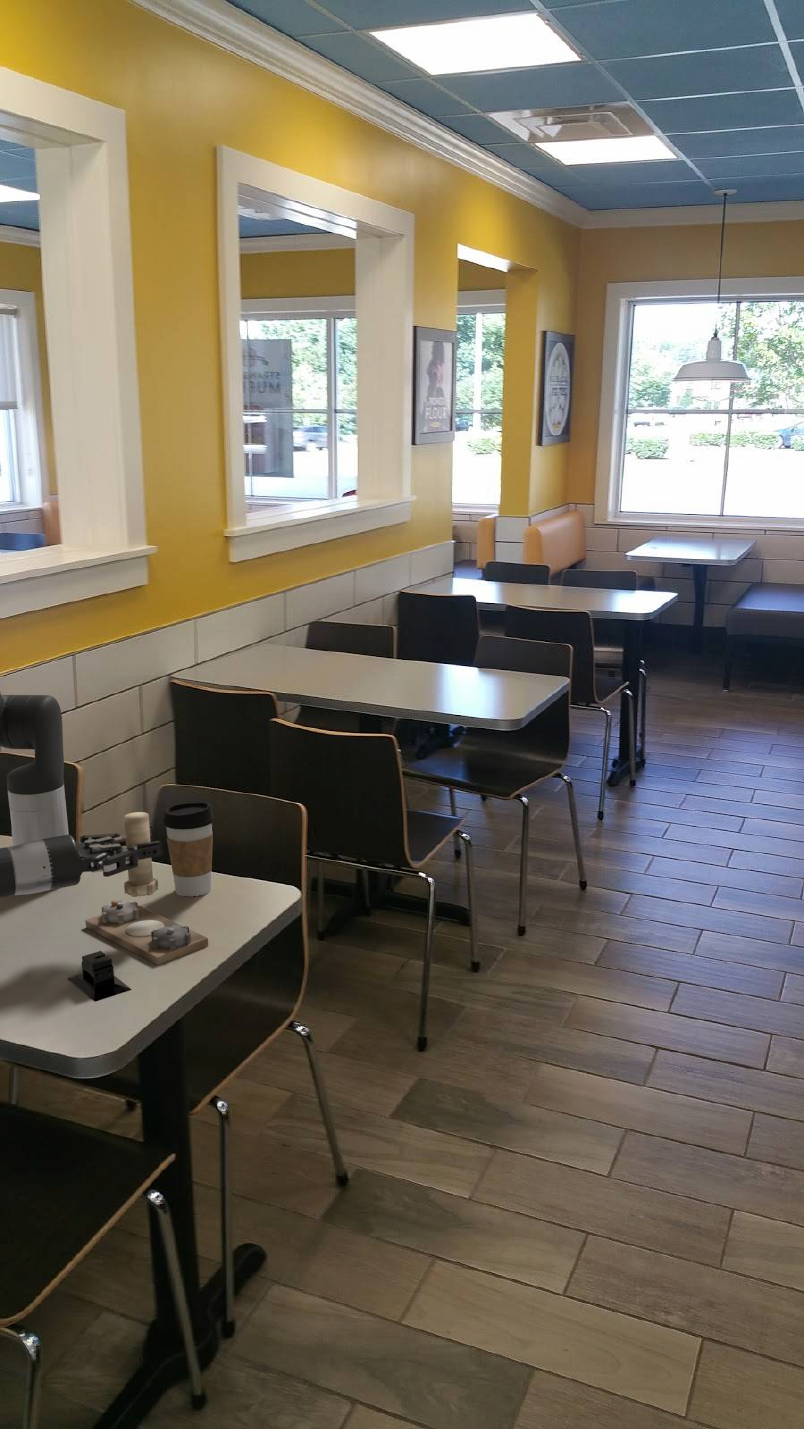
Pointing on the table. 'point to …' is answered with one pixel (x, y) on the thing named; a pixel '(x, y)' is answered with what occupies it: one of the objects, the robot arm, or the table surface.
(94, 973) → the black block stand
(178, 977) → the table surface
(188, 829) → the coffee cup
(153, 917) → the gear board
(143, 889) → the spindle gear
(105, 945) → the table surface
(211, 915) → the table surface
